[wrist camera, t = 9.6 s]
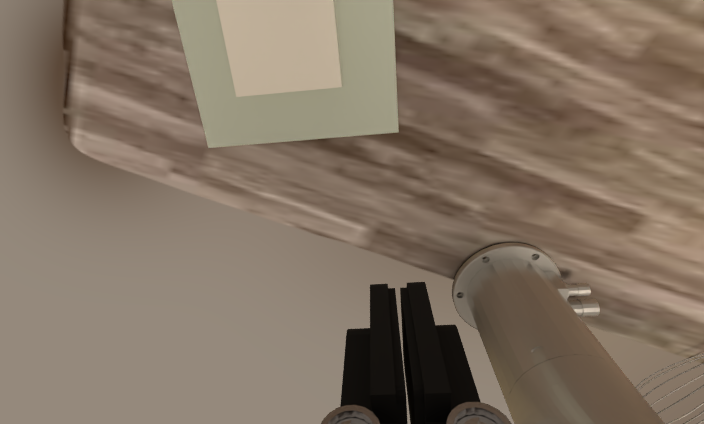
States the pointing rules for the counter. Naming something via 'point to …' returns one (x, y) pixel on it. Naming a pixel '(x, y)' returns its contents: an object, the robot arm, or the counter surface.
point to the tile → (281, 45)
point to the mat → (300, 106)
